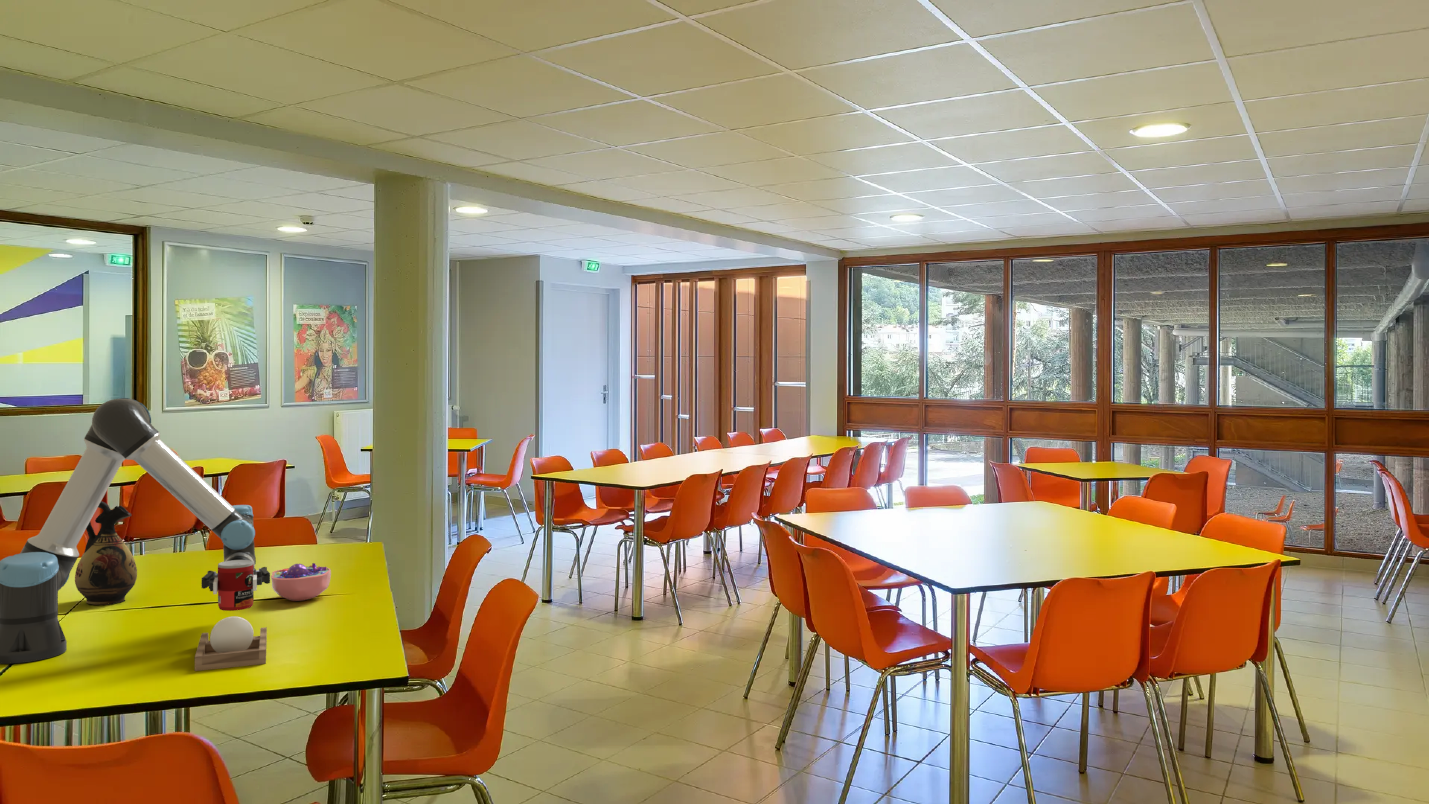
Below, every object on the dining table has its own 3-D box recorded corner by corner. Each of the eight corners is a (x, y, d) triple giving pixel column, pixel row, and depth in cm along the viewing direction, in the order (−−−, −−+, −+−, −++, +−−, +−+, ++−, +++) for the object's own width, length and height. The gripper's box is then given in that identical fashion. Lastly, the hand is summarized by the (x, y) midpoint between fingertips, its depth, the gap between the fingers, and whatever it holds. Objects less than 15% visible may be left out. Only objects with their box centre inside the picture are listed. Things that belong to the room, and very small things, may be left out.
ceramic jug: (142, 594, 282) (142, 497, 282) (130, 605, 268) (130, 503, 268) (76, 598, 276) (77, 498, 276) (61, 610, 262) (61, 505, 261)
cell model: (341, 591, 289) (341, 556, 289) (316, 606, 269) (316, 568, 269) (287, 591, 289) (287, 555, 289) (257, 606, 269) (257, 567, 269)
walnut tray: (265, 663, 213) (265, 649, 213) (194, 671, 207) (194, 656, 207) (266, 639, 233) (266, 627, 233) (201, 646, 227) (201, 633, 227)
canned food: (239, 611, 221) (238, 566, 221) (210, 610, 223) (209, 565, 222) (261, 604, 229) (260, 560, 228) (232, 602, 230) (232, 559, 230)
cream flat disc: (253, 653, 217) (253, 615, 217) (209, 658, 213) (210, 619, 213) (253, 652, 218) (253, 614, 218) (210, 656, 214) (210, 618, 214)
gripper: (281, 580, 246) (282, 598, 226) (193, 587, 237) (185, 606, 217) (281, 552, 246) (282, 567, 226) (193, 558, 237) (185, 574, 217)
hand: (235, 586), depth 221 cm, fingers closed on canned food, 8 cm apart
